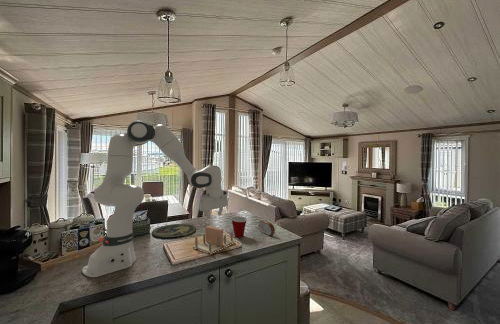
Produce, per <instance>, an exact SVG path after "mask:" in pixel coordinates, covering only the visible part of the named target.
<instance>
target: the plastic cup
mask: <svg viewBox="0 0 500 324" xmlns="http://www.w3.org/2000/svg"><path fill="white" fill-rule="evenodd" d="M230 219H231V222H232V231H233V233H234V234H233V235H234V238H243V237H244V236H245V229H246V224H247V221H248V218H247V217H244V216H240V215H239V216H237V215H236V216H233V217H232V216H231V217H230Z"/></svg>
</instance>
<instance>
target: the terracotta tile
mask: <svg viewBox="0 0 500 324" xmlns="http://www.w3.org/2000/svg"><path fill="white" fill-rule="evenodd" d="M217 238H219V246H222V245H223V238H224V229H223V228H220V227H215V226H211V225H206V226H205V241H206V242H208V243H209V241H211V243H212V244H215V245H217Z"/></svg>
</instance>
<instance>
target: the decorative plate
mask: <svg viewBox="0 0 500 324" xmlns="http://www.w3.org/2000/svg"><path fill="white" fill-rule="evenodd" d="M196 232H197V227H196V225H195V226H194V225H193V224H189V223H173V224H166V225H161V226H159V227H155V228H154V229H153V230H152V231H151V236H152V237H153V238H154V239H159V240H174V239H175V240H177V239H182V238H186V237H189V236H191V235H193V234H195V233H196Z"/></svg>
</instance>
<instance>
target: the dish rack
mask: <svg viewBox="0 0 500 324" xmlns="http://www.w3.org/2000/svg"><path fill="white" fill-rule="evenodd" d="M233 233H234V231H231V232H230V238H227V235H226V234H223V245H222V246H219V238H217V245H215V244H212V243H211V241H209V243H208V242H206V233H203V235H202V241H201V242H199V243H198V237H197V236H196V237H194V240H195V242H194V243H195V244H193V245H192V249H193V248H196V249H199V250H202V251H205V252H209V253H211V254H212V253H213V252H215V251H218V250H220V249H222V248H224V247H226V246H228V245H230V244H232V243H234V242H235V243H236V240H234V239H233V235H234V234H233ZM228 247H229V246H228ZM226 248H227V247H226ZM196 249H195V250H196ZM224 249H225V248H224ZM199 250H198V251H199ZM222 250H223V249H222ZM202 251H201V252H202ZM220 251H221V250H220ZM205 252H204V253H205ZM218 252H219V251H218ZM211 254H210V255H211ZM212 255H213V254H212Z"/></svg>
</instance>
